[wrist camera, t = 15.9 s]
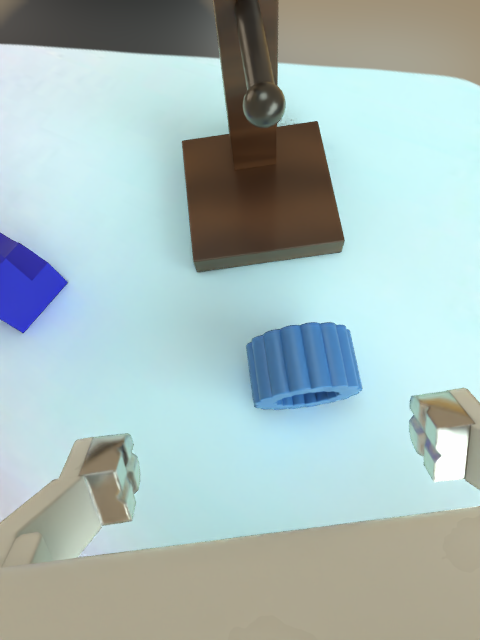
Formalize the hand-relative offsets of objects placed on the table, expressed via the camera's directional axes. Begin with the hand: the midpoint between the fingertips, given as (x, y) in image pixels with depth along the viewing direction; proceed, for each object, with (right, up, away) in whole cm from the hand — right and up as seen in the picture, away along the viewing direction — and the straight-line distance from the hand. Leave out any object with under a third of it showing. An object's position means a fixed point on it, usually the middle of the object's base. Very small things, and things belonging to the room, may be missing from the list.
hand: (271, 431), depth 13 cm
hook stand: (0, +12, +20) cm, 23 cm away
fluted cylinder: (+2, -1, +15) cm, 15 cm away
